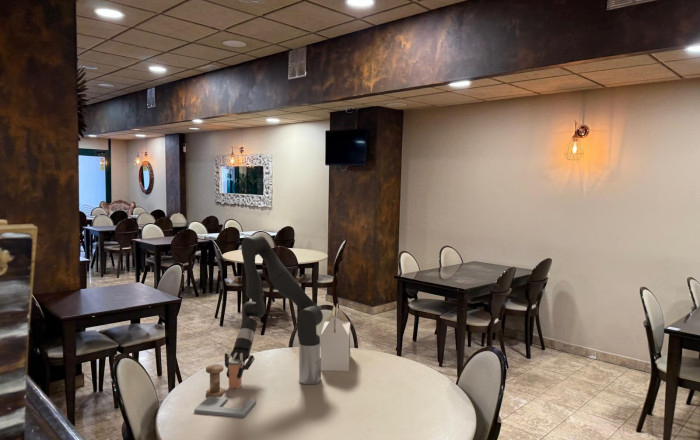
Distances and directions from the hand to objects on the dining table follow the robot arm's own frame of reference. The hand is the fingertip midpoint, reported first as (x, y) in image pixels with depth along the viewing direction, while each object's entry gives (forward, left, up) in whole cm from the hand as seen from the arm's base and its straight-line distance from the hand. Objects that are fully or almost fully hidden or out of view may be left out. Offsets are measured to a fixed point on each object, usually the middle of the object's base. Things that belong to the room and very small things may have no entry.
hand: (233, 377), depth 201 cm
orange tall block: (0, -2, -5) cm, 5 cm away
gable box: (-37, -38, -5) cm, 53 cm away
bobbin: (+5, +7, -5) cm, 10 cm away
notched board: (-5, +18, -5) cm, 19 cm away
